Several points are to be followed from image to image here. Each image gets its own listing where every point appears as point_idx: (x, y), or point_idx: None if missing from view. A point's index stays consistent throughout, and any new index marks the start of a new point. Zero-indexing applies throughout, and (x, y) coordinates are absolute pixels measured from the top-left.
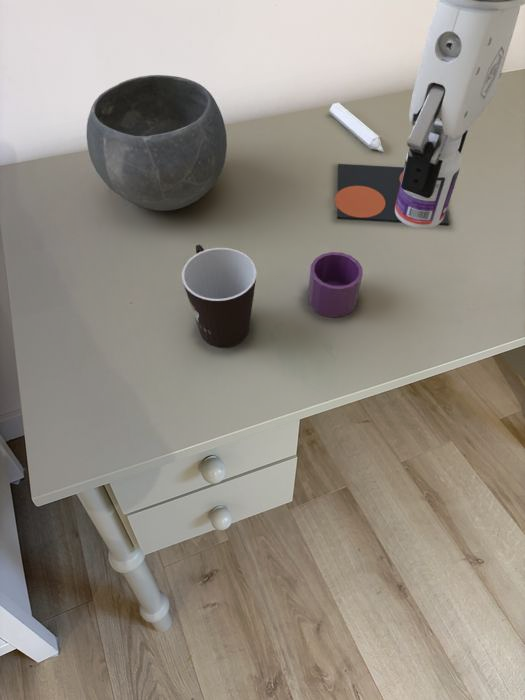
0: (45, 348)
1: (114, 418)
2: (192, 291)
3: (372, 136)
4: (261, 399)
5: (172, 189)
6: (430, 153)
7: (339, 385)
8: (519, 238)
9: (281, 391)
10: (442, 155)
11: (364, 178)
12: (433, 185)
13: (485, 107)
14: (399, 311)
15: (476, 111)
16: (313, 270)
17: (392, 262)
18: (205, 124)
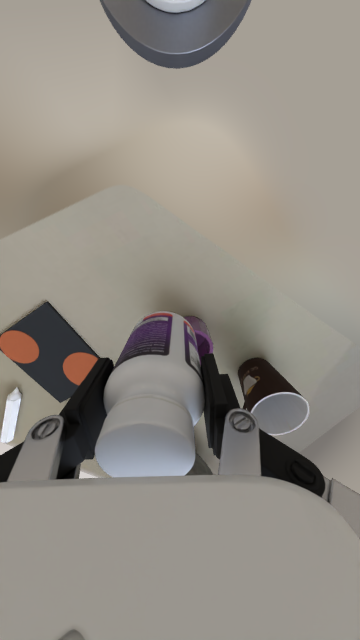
0: (315, 429)
1: (343, 377)
2: (305, 417)
3: (11, 403)
4: (295, 322)
5: (202, 471)
6: (304, 461)
7: (259, 287)
8: (5, 237)
9: (283, 316)
10: (184, 408)
11: (58, 380)
12: (216, 367)
13: (26, 490)
14: (168, 286)
15: (169, 563)
16: None
17: (124, 317)
18: None
